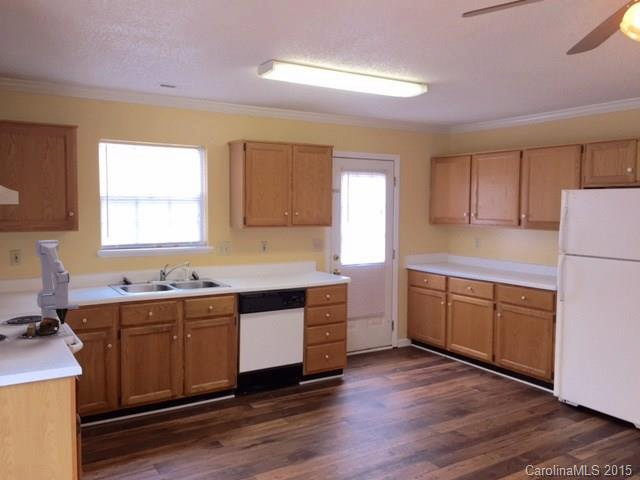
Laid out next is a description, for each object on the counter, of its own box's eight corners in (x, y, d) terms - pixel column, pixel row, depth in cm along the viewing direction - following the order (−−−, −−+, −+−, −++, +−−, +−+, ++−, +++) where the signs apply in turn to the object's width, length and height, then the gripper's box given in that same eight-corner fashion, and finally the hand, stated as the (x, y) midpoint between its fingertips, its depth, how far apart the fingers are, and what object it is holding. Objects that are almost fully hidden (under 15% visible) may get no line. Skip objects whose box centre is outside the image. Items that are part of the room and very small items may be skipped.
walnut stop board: (30, 330, 264) (30, 322, 264) (36, 330, 265) (35, 322, 264) (27, 336, 253) (26, 327, 252) (32, 335, 254) (32, 327, 253)
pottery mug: (32, 333, 260) (38, 317, 264) (51, 339, 266) (56, 323, 270) (44, 330, 253) (49, 314, 256) (63, 336, 259) (68, 320, 263)
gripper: (44, 299, 256) (45, 326, 257) (77, 297, 262) (78, 324, 262) (45, 296, 263) (46, 323, 264) (78, 294, 268) (78, 321, 269)
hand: (62, 324), depth 263 cm, fingers closed
